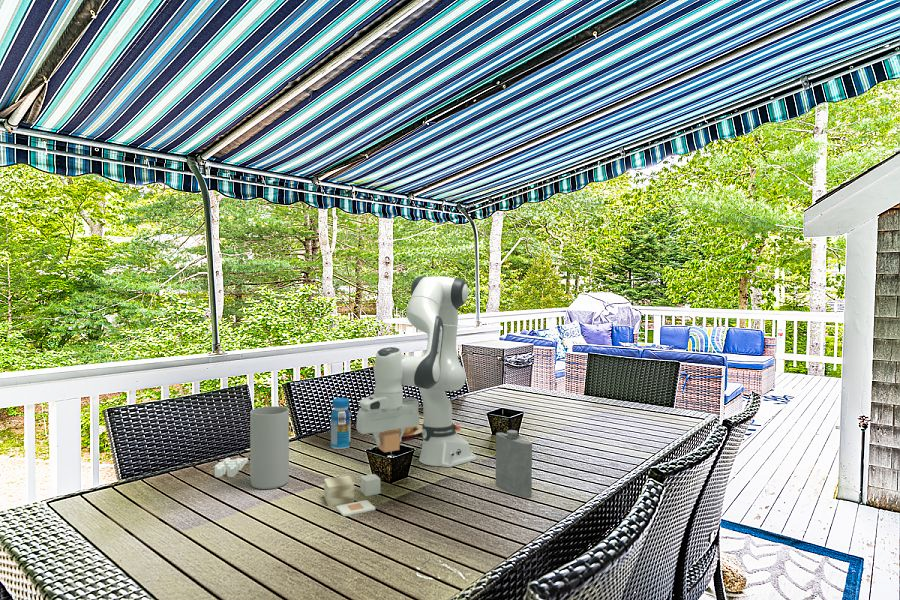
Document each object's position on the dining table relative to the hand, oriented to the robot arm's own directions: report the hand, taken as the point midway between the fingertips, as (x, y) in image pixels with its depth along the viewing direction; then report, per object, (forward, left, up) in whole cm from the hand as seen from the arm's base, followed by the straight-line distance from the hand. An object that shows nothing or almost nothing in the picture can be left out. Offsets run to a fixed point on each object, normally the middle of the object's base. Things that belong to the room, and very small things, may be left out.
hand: (388, 443), depth 174 cm
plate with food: (-37, -71, -19) cm, 82 cm away
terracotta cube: (0, 0, -2) cm, 2 cm away
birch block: (+13, -9, -19) cm, 24 cm away
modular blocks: (+38, -55, -19) cm, 70 cm away
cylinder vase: (+29, -34, -19) cm, 48 cm away
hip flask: (-40, +11, -19) cm, 45 cm away
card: (+11, +1, -18) cm, 21 cm away
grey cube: (+2, -10, -18) cm, 21 cm away
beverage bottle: (-6, -63, -19) cm, 66 cm away
